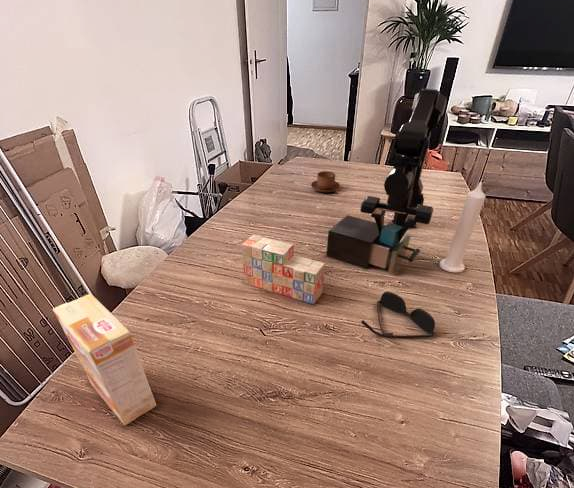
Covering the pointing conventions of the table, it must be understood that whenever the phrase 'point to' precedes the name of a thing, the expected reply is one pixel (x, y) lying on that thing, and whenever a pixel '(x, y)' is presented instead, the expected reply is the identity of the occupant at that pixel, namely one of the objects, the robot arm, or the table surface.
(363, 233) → the cabinet
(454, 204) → the table surface
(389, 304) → the sunglasses
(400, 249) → the drawer
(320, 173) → the cup and saucer
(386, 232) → the block
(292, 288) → the stack of blocks
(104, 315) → the coffeecake box
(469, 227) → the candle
